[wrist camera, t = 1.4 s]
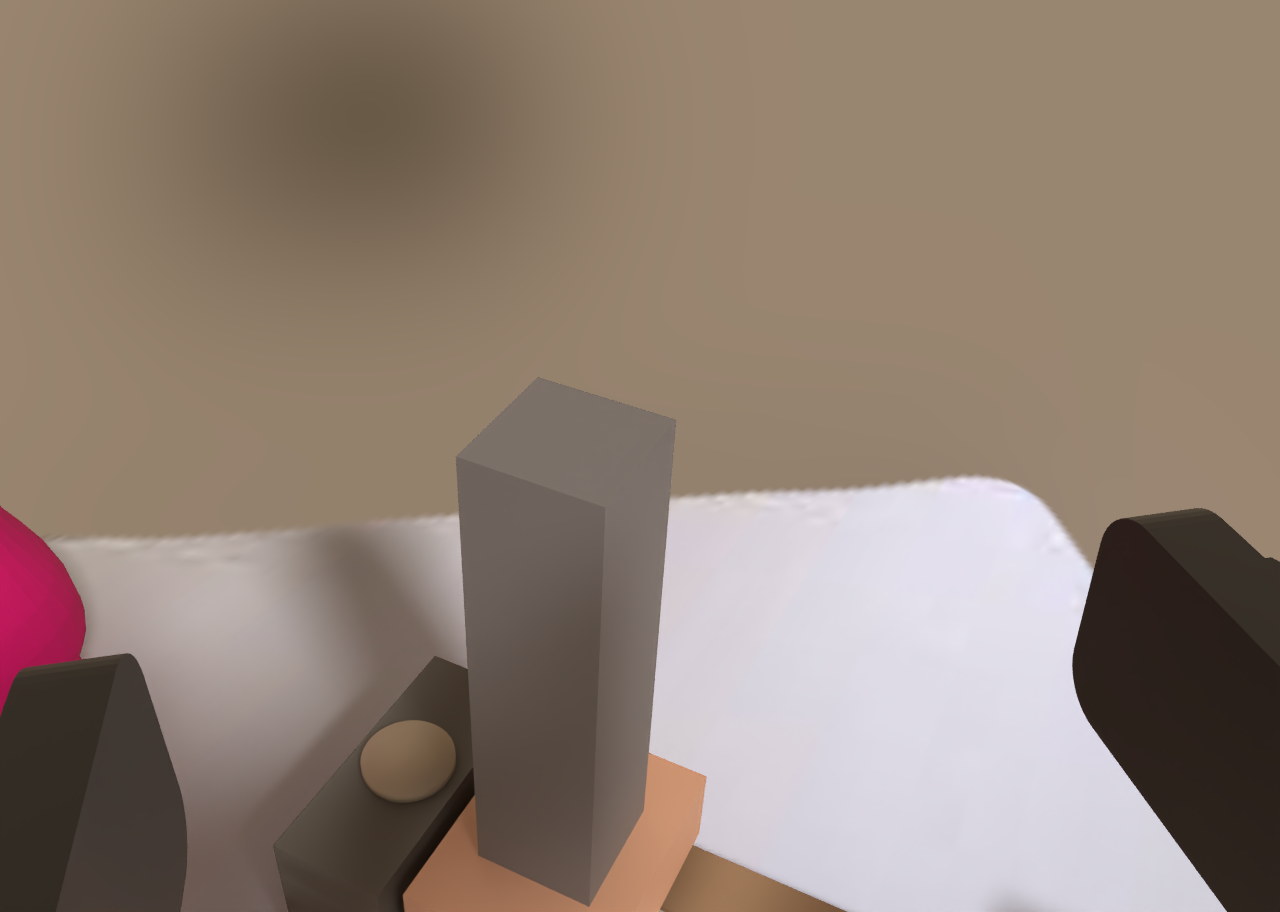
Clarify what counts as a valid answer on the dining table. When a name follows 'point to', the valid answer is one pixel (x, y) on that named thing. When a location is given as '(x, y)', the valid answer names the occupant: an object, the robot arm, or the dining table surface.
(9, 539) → the pepper mill
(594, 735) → the carriage
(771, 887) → the rail
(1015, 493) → the dining table surface
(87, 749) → the robot arm
